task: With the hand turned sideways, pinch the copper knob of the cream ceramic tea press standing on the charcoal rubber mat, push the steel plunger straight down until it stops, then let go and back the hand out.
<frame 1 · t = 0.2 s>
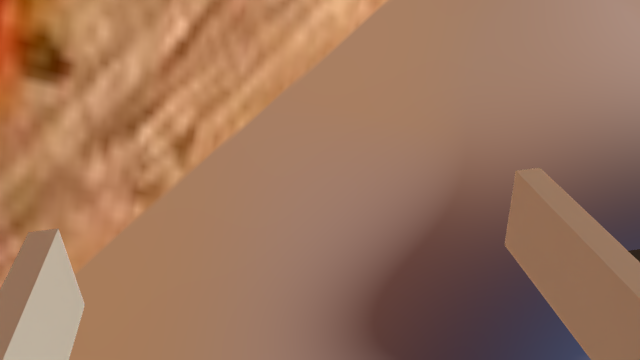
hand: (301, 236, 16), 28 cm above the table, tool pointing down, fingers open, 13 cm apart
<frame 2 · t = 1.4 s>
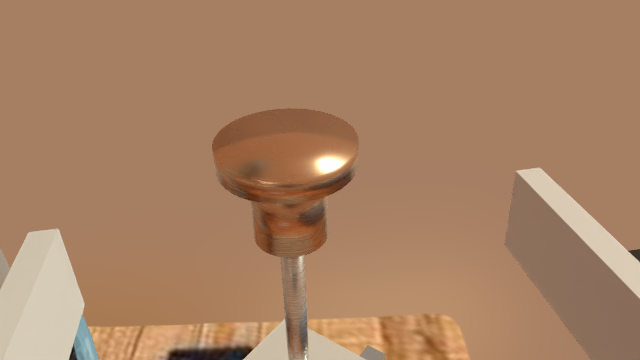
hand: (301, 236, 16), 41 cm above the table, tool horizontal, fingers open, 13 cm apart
plunger: (296, 321, 31), point 28 cm above the table, slide at 10.0 cm
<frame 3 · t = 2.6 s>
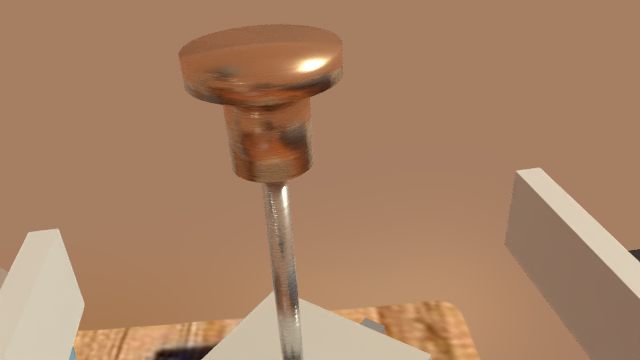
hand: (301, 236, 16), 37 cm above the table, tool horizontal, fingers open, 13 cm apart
plunger: (283, 270, 28), point 28 cm above the table, slide at 10.0 cm
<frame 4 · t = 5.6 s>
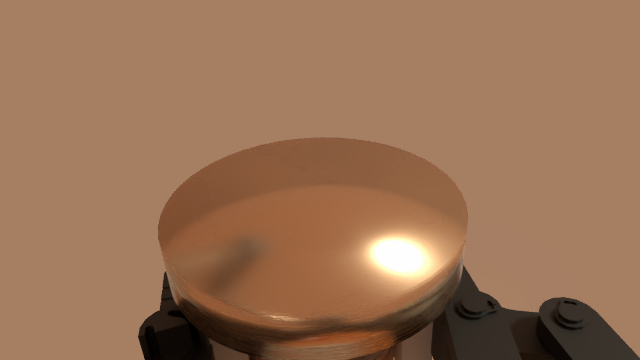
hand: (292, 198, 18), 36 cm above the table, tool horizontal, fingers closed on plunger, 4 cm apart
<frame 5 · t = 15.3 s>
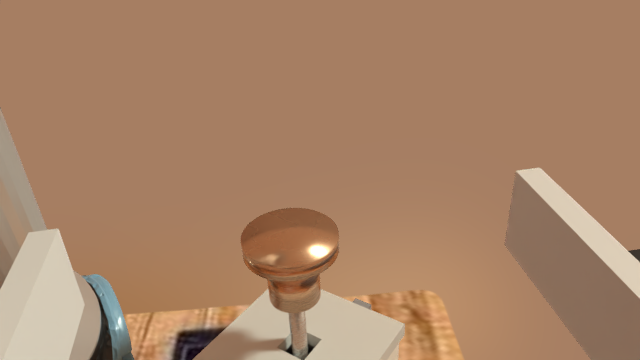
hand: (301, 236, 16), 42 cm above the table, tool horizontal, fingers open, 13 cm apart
plunger: (300, 356, 42), point 19 cm above the table, slide at 0.5 cm
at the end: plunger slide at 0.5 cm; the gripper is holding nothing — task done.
